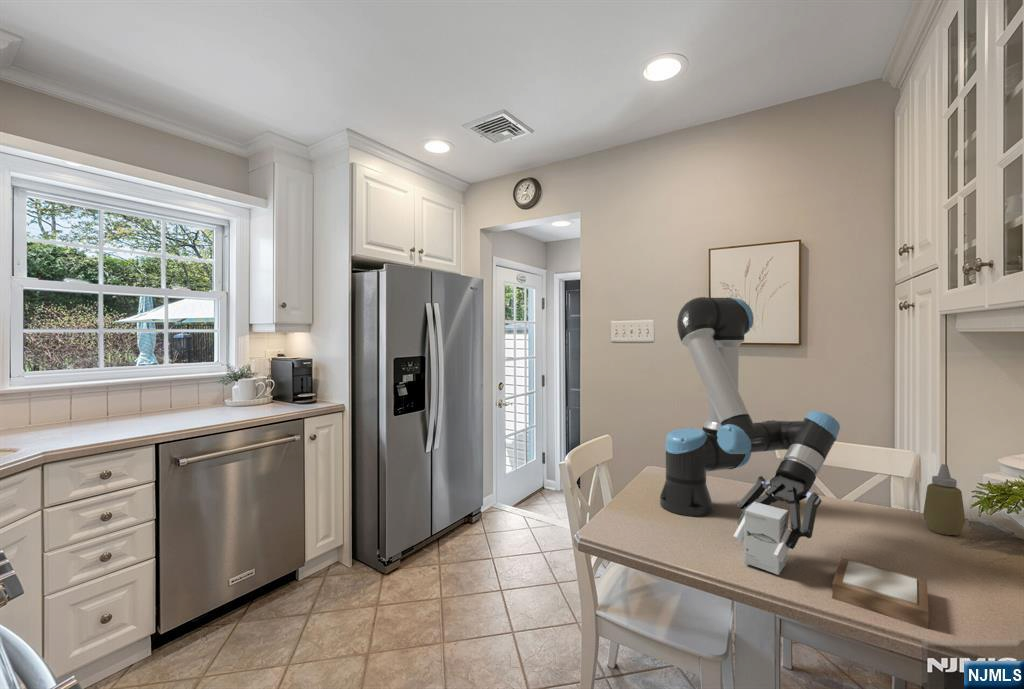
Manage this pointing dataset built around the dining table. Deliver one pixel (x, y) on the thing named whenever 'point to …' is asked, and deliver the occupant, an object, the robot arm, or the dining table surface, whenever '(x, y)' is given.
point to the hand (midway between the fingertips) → (756, 548)
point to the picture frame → (882, 591)
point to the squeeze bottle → (944, 504)
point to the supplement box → (764, 536)
